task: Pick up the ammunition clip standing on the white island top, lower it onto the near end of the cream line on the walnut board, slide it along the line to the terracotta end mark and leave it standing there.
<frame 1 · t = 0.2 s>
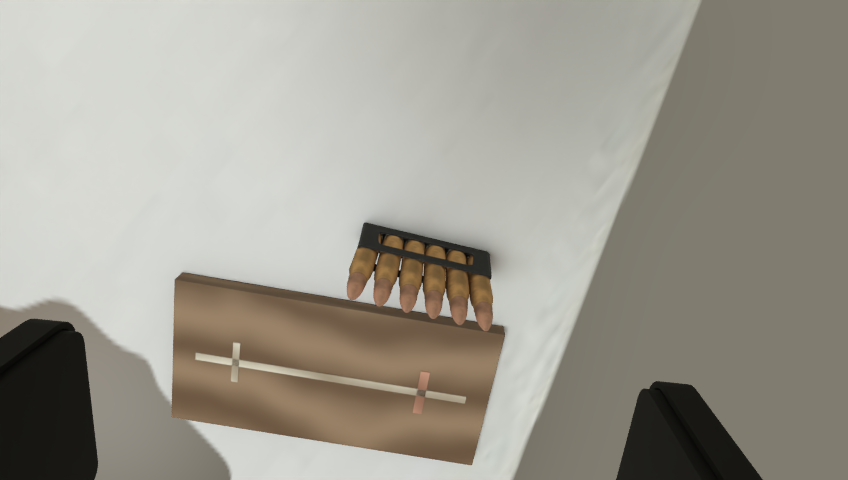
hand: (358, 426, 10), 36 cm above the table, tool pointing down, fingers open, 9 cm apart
walnut board: (334, 368, 51), on the table
ammunition clip: (424, 246, 47), on the table
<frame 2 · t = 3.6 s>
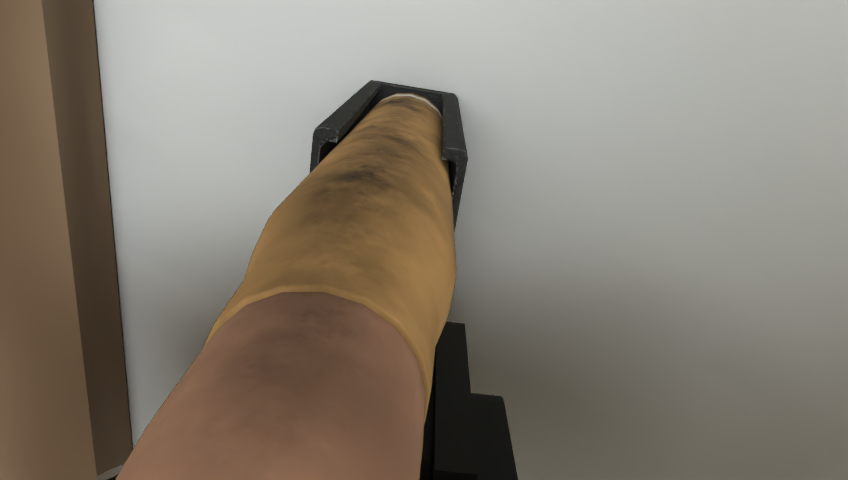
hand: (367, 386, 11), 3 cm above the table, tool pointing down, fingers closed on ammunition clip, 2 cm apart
ammunition clip: (379, 318, 13), on the table, touching gripper
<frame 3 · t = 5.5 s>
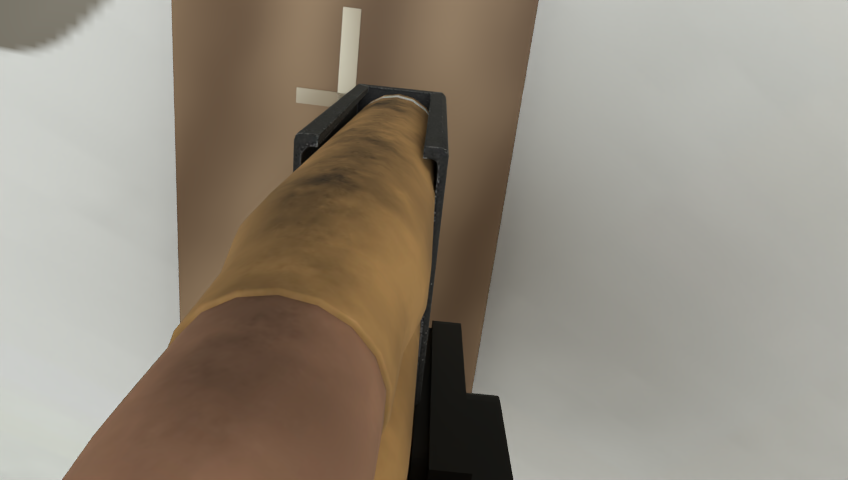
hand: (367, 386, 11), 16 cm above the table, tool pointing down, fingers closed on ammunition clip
walnut board: (338, 278, 27), on the table
ammunition clip: (381, 320, 13), point 13 cm above the table, touching gripper
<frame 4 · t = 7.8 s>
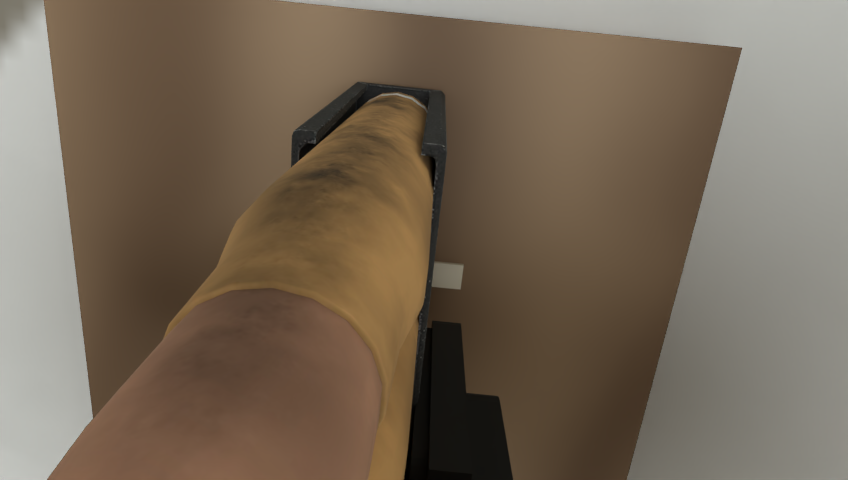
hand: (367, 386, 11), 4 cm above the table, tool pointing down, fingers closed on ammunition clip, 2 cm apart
ammunition clip: (380, 319, 13), point 2 cm above the table, touching gripper
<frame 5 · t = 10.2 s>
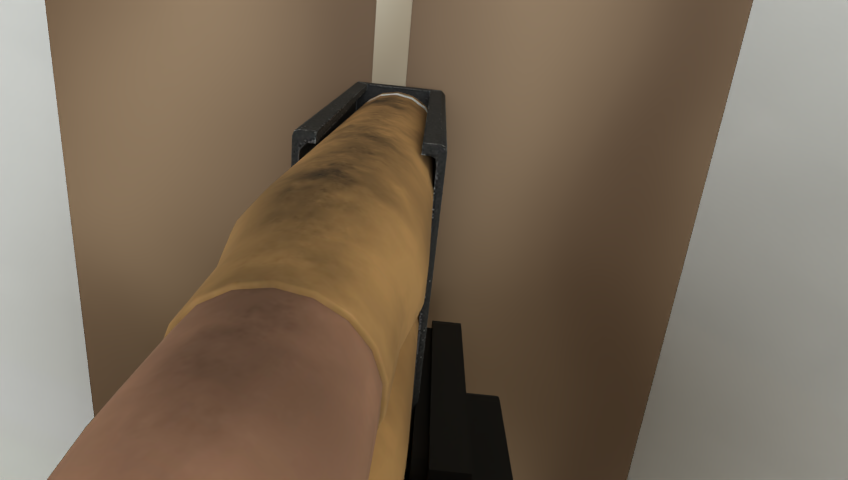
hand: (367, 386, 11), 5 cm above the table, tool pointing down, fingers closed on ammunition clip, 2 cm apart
walnut board: (393, 82, 13), on the table
ammunition clip: (380, 318, 13), point 2 cm above the table, touching gripper
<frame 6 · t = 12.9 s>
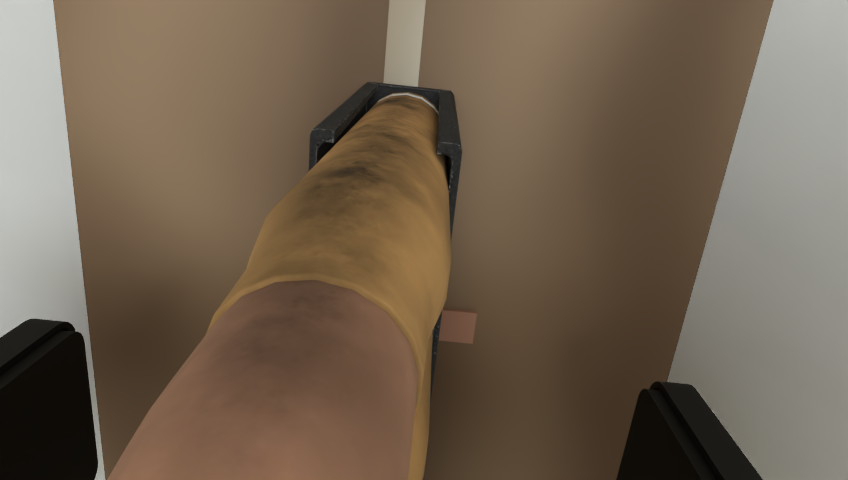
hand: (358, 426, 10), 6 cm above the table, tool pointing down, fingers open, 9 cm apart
ammunition clip: (388, 316, 13), point 1 cm above the table, touching walnut board
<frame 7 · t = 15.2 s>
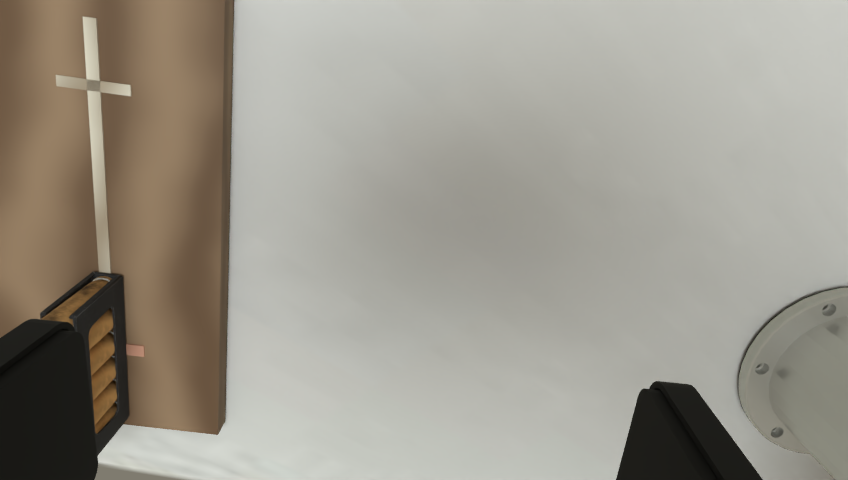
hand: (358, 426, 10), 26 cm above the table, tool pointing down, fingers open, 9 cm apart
walnut board: (116, 223, 35), on the table
ammunition clip: (113, 346, 37), point 1 cm above the table, touching walnut board
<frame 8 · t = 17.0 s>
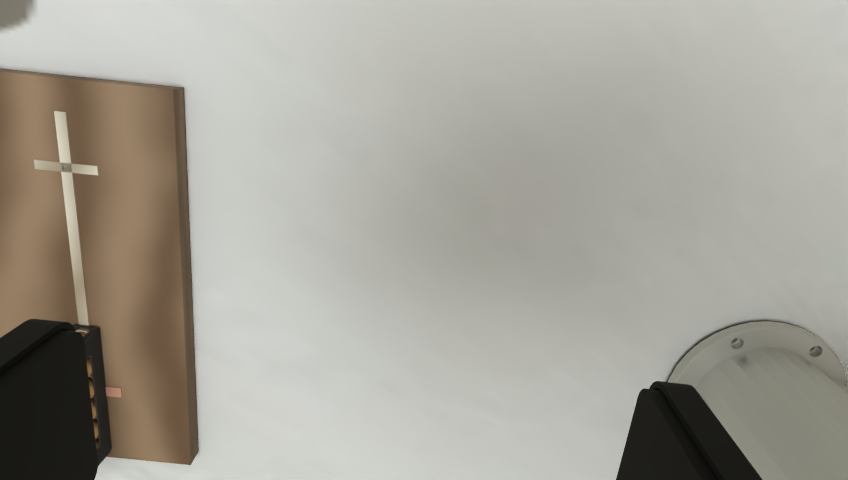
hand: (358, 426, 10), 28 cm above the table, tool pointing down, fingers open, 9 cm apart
walnut board: (93, 280, 40), on the table
ammunition clip: (94, 388, 41), point 1 cm above the table, touching walnut board
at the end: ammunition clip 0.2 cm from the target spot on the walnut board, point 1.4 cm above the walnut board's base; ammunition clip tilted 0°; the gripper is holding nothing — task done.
